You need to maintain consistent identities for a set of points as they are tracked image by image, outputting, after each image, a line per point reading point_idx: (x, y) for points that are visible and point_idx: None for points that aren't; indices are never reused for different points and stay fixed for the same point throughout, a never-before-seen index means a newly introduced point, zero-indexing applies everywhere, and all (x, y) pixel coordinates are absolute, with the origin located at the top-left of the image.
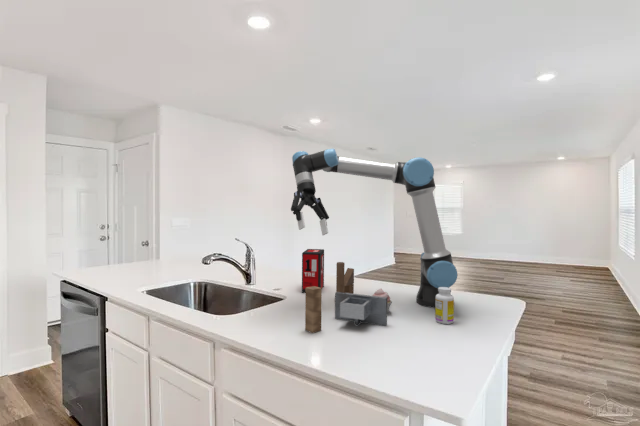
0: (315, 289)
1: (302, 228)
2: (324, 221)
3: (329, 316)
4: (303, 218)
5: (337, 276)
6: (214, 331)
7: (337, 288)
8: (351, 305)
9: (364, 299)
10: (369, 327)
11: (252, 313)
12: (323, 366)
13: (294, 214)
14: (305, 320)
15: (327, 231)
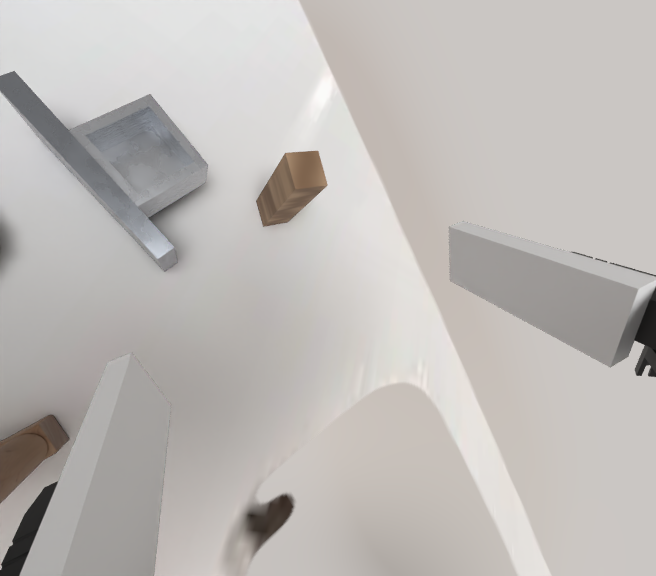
0: (308, 151)
1: (450, 256)
2: (86, 519)
3: (183, 286)
4: (530, 252)
5: (4, 484)
6: (430, 293)
7: (35, 453)
8: (181, 134)
9: (94, 149)
10: None
11: (358, 382)
12: (320, 67)
13: (637, 364)
14: (294, 215)
15: (114, 370)
